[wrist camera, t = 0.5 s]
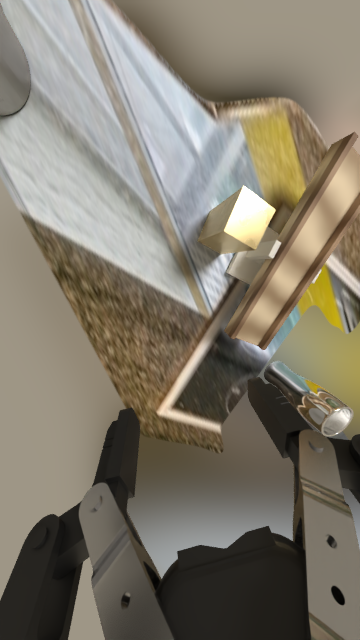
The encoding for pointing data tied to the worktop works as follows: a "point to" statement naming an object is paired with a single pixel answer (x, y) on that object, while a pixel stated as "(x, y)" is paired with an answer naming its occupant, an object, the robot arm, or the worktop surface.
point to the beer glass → (310, 399)
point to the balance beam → (302, 246)
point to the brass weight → (236, 223)
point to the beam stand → (255, 258)
